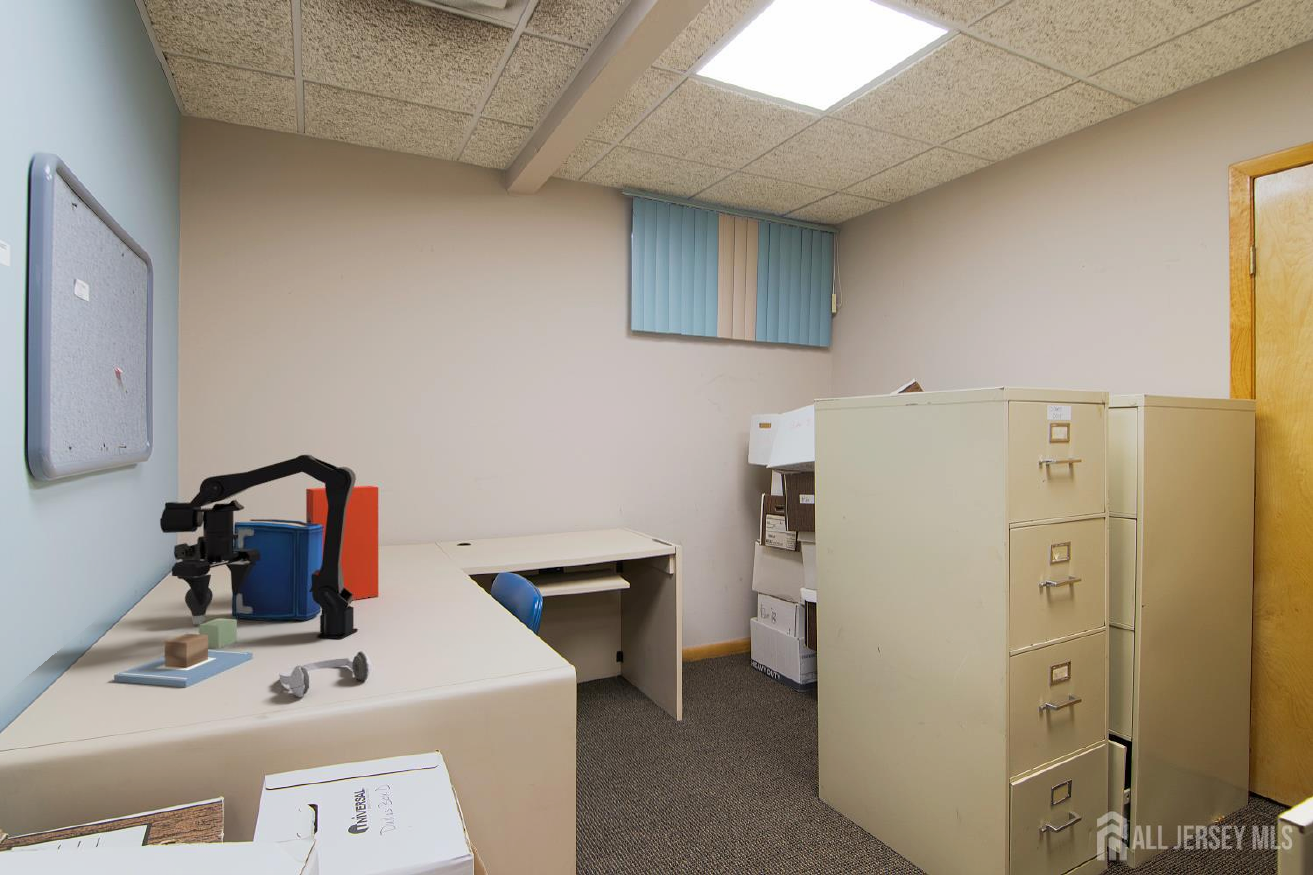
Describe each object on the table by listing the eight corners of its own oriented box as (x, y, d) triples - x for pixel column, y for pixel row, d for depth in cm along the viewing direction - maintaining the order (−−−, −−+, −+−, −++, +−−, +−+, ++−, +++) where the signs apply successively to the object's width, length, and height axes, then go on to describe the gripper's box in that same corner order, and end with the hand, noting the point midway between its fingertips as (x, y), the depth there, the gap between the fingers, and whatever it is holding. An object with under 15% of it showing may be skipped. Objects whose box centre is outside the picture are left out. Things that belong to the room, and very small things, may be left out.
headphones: (387, 682, 123) (347, 672, 137) (385, 651, 124) (346, 644, 138) (284, 710, 111) (252, 696, 125) (282, 675, 111) (251, 665, 125)
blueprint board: (252, 658, 138) (252, 652, 138) (186, 687, 123) (186, 680, 123) (187, 653, 141) (187, 647, 141) (114, 681, 125) (114, 674, 125)
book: (326, 615, 171) (326, 519, 171) (309, 622, 164) (310, 523, 164) (249, 612, 173) (249, 518, 173) (229, 619, 166) (230, 521, 166)
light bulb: (180, 629, 158) (180, 588, 158) (190, 623, 163) (190, 583, 163) (207, 628, 159) (207, 587, 159) (216, 621, 165) (216, 582, 165)
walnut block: (208, 659, 134) (208, 634, 134) (186, 667, 129) (186, 642, 129) (186, 657, 135) (187, 633, 135) (164, 666, 130) (164, 641, 130)
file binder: (306, 600, 185) (306, 488, 185) (369, 591, 196) (369, 485, 196) (313, 606, 179) (313, 490, 179) (378, 596, 190) (378, 487, 190)
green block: (236, 641, 150) (236, 619, 150) (218, 648, 145) (218, 625, 145) (217, 639, 151) (217, 618, 151) (199, 647, 146) (199, 624, 146)
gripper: (221, 524, 158) (221, 588, 158) (149, 536, 140) (149, 609, 140) (262, 525, 156) (262, 590, 156) (194, 538, 138) (194, 611, 138)
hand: (218, 599), depth 148 cm, fingers open, 9 cm apart
